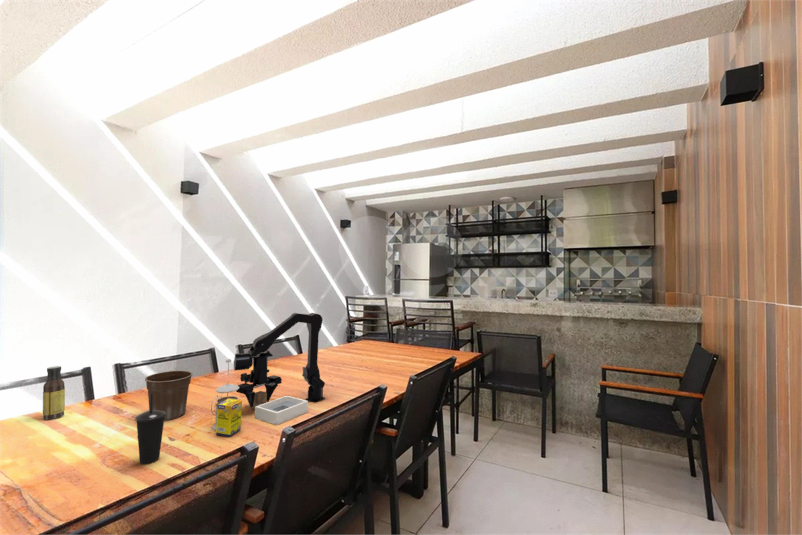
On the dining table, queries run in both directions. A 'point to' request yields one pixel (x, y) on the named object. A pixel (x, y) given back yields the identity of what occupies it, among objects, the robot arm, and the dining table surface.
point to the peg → (259, 399)
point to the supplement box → (228, 417)
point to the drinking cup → (150, 433)
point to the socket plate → (281, 406)
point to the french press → (224, 389)
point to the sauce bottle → (53, 394)
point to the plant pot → (169, 392)
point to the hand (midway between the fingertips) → (259, 404)
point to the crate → (284, 414)
